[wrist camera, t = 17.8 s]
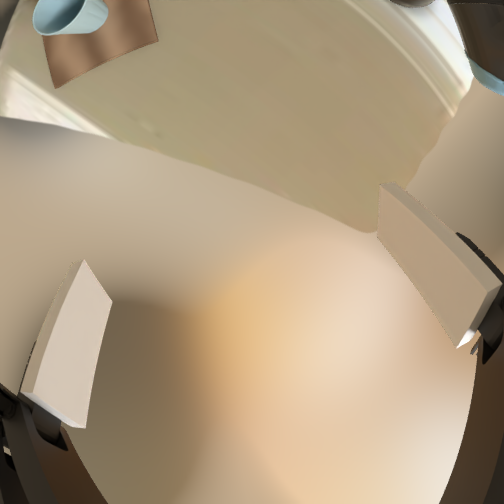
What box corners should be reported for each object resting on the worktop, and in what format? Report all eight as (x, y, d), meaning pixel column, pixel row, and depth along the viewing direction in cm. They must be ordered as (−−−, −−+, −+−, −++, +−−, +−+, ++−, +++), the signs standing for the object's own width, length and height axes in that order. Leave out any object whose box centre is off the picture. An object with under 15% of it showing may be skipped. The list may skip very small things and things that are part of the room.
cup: (111, 37, 25) (79, 28, 17) (65, 44, 24) (27, 41, 15) (120, -8, 21) (94, -28, 13) (74, 0, 19) (39, -13, 11)
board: (138, -44, 18) (137, -46, 17) (158, 41, 28) (157, 40, 27) (40, 6, 18) (37, 5, 17) (58, 88, 28) (54, 88, 27)
